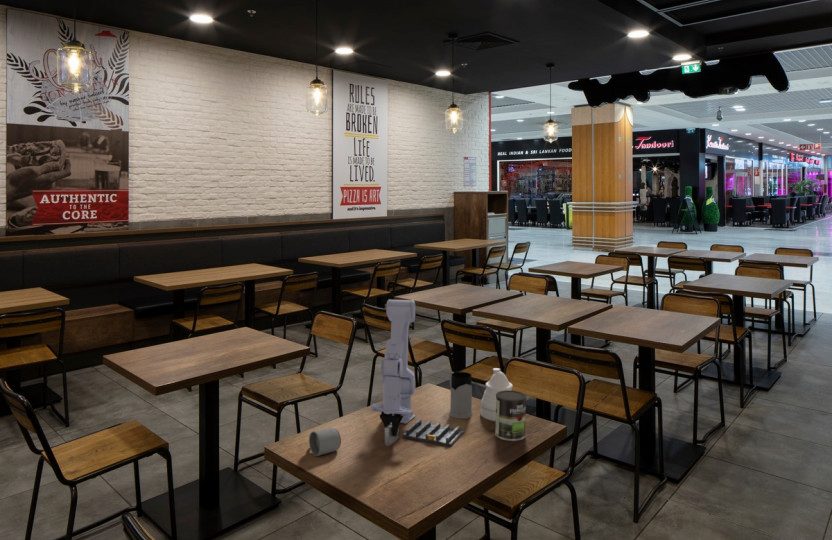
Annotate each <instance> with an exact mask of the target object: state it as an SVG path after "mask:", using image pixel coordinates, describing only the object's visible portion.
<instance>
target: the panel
mask: <svg viewBox="0 0 832 540" xmlns="http://www.w3.org/2000/svg"><path fill="white" fill-rule="evenodd" d="M399 434H400V428H398V432H397V435H396V436H393V435H392V422H391V423H390V424H389V425H388V426H386V427H385V426H384V446H387V447H390V446H391V445H392V444H394V443H395V442H397V440H398V439H399V438H400V435H399Z"/></svg>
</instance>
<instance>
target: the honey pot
mask: <svg viewBox="0 0 832 540" xmlns="http://www.w3.org/2000/svg"><path fill="white" fill-rule="evenodd" d="M492 372H493V374H492V376H491V377H490V379H489V380H488V381H487V382H485V387H486V388H485V390H484V392H483V395H482V398H481V400H480V415H481V417H482V418H483V419H486V420H489V421H492V422H496V393H498V392H500V391H507V390H510V391H513V389H512V388H513V387H514V386H513V383H511V382H510V381H509V379H508V377H507V376H506V374H505V373H504V372H502V371H501V368H497V367H495V368H492Z"/></svg>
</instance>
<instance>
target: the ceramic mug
mask: <svg viewBox="0 0 832 540" xmlns="http://www.w3.org/2000/svg"><path fill="white" fill-rule="evenodd" d="M308 444H309V448H310V451H311V454H312V455H313V456H315V457H319V456H323V455H325V454H329V453H334V452H335V451H338V450H339V449H340V447H341V444H342V438H341V434H340V432H339V430H338V428H335V427H334V428H333V427H329V428H324V429H317V430H312V431H311V433H309V437H308Z"/></svg>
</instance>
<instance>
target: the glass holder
mask: <svg viewBox="0 0 832 540" xmlns="http://www.w3.org/2000/svg"><path fill="white" fill-rule="evenodd" d="M472 376H473V375H472V374H471V373H469V372H466V371H456V372H454V371H452V372H449V385H450V386H449V387H450V411H449V416H451V417H453V418H456V419H467V418H470V417H472V416H473V412H472V407H473V406H472V403H473V402H472V400H473V398H472V397H473V396H472V395H473V390H472V389H473V386H472V379H473V378H472Z"/></svg>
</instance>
